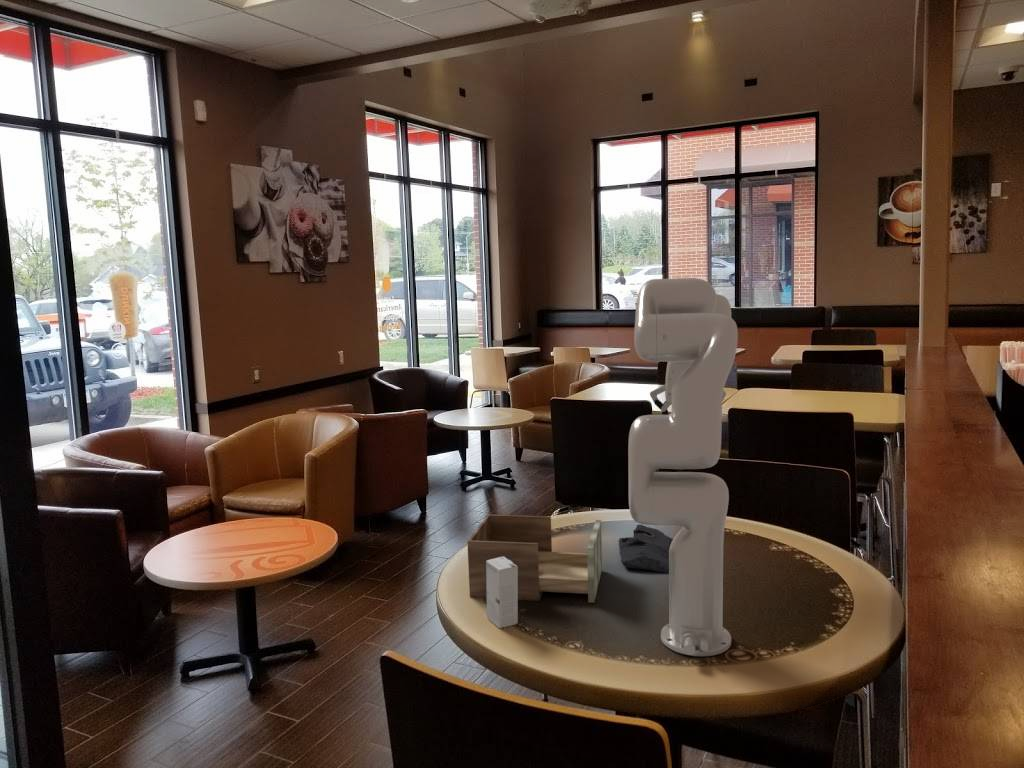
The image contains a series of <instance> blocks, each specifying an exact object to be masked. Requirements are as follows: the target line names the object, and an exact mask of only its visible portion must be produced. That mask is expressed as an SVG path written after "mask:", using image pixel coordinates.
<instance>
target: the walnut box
mask: <svg viewBox="0 0 1024 768" xmlns="http://www.w3.org/2000/svg"><path fill="white" fill-rule="evenodd" d="M552 539H553V538H552V516H543V515H542V516H540V515H518V514H517V515H514V514H513V515H509V514H490V513H489V514H486V515H485V517H484V518H483V520H482V521H481V522H480V524H479V525H478V526H477V528H476V529H475V531H474V532H473V533H472V534H471V536H470V537H469V538H468V540H467V542H466V544H467V561H468V562H467V563H468V565H467V566H468V583H469V585H468V586H469V587H468V588H469V597H470V598H481V599H482V598H483V599H487V585H486V561H487V560H490V559H494V558H499V557H503V556H504V557H505V558H507V559H508V560H510V561H512V562H513V563H514V564H515V565H516V566H517V567H518V601H531V602H532V601H534V602H540V599H541V598H542V595H543V592H544V591H539V562H538V551H547V552H553V542H552V541H553V540H552Z"/></svg>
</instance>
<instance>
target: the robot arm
mask: <svg viewBox="0 0 1024 768" xmlns="http://www.w3.org/2000/svg"><path fill="white" fill-rule="evenodd" d="M635 305H636V306H635V319H634V333H633V334H634V335H633V345H634V349H635V352H636V354H637V356H638V358H639V359H641V360H643V361H644V362H645V361H646V362H652V363H653V362H654V363H660V362H661V363H662V362H664V363H665V362H666V363H667V364H666V371H665V383H664V384H663V385H662V386H659V387H657V388H655V389H654V390H651V391H650V393H649V396H650V398H651V400H652V402H653V403H654V405H655V406H656V407H657V408H658V409H659V410H660V411H661V414H647V415H646V414H645V415H640V416H638V417H637V418H635V420H633V422H632V424H631V426H630V429H629V433H628V445H627V446H628V448H627V449H628V450H627V451H628V453H627V455H628V456H627V457H628V462H627V463H628V466H627V467H628V468H627V469H628V507H629V513H630V516H631V518H632V519H633V520H634V521H635V522H636V523H638V524H639V525H649V526H650V525H651V526H670V527H672V526H674V527H675V526H677V527H682V528H681V529H680V530H679V531H678V532H677V534H676V535H674V537H673V538H672V539H673V540H672V542H671V545H670V549H669V573H668V589H669V590H668V596H669V598H668V603H669V604H668V607H669V609H668V611H669V612H668V621H669V623H667V624H666V625H664V626H663V627H662V629H661V630H660V640H661V642H662V643H663V644H664V646H666V647H667V648H668V649H670V650H672V651H673V652H675V653H679V654H681V655H685V656H686V655H687V656H691V657H712V656H718V655H720V654H723V653H724V652H726V651H728V650H729V648H730V647H731V645H732V636H731V633H730V632H729V631H728V630H727V629H726V628H725V627H723V621H724V620H723V618H724V617H723V616H724V614H723V613H724V612H723V609H724V607H723V603H724V596H723V595H724V589H723V588H724V538H725V527H726V519H727V514H728V509H729V507H728V506H729V502H730V501H729V499H730V494H729V492H730V491H729V488H728V485H727V483H726V481H725V480H724V479H723V478H722V477H720V476H719V475H716V474H713V473H709V472H708V473H707V472H697V471H695V472H694V471H676V472H675V471H674V472H673V471H657V470H662V469H663V470H665V469H668V470H669V469H670V470H671V469H672V470H700V469H701V470H703V469H707V468H708V469H709V468H712V467H714V466H715V465H716V464H718V461H719V459H720V457H721V451H722V449H721V448H722V428H723V425H722V423H723V422H722V421H723V420H722V419H723V401H724V400H725V398H726V396H727V393H726V391H725V390H724V389H725V387H726V382H727V380H728V377H729V375H730V373H731V369H732V367H733V365H734V361H735V359H736V358H735V357H736V354H737V349H738V340H739V337H738V335H739V333H738V325H737V323H736V321H735V320H734V319H733V318H732V307H731V304H730V301H729V299H728V298H727V297H726V296H724V295H721V294H717V292H716V290H715V288H714V286H712V284H711V283H709V282H708V281H707V280H705V279H701V278H696V277H695V278H694V277H681V278H680V277H678V278H656V279H655V278H653V279H649V280H646V282H644V283H643V284H642V285H641V287H640V289H639V291H638V294H637V298H636V304H635ZM662 393H664V394H665V395H664V397H665V401H664V402H662V401H661V400H660V399H659V398H658V396H659V395H660V394H662ZM670 406H671V412H670V414H669V410H668V409H669V407H670Z"/></svg>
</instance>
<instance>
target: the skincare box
mask: <svg viewBox="0 0 1024 768" xmlns="http://www.w3.org/2000/svg"><path fill="white" fill-rule="evenodd" d="M486 585H487V598H486V617H487V619H488V620H489V621H490V622H491V623H492V624H493V625H494V626H495V627H497V628H499V629H503V627H504V628H507V626H508V627H510V626H511V627H512V626H514V625H517V624H518V623H519V612H518V611H519V610H518V608H519V607H518V606H519V605H518V601H519V600H518V567H517V566H516V565H515V564H514V563H513V562H512V561H510V560H508V559H507V558H505V557H504V556H503V557H499V558H494V559H490V560H487V561H486Z"/></svg>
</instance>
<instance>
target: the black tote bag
mask: <svg viewBox="0 0 1024 768" xmlns="http://www.w3.org/2000/svg"><path fill="white" fill-rule="evenodd" d="M673 539H674V538H671V537H670V536H668V535H666V534H665V533H664V532H662V531H661V530H659V529H658V528H657V529H656V528H653V527H649V526H646V525H644V524H637V525H636V527H635V529H633V536H629V537H619V539H618V548H619V555H620V562H621V564H622V565H623V567H625V568H628V569H639V570H647V571H650V572H651V571H652V572H659V573H663V572H665V573H666V574H669V549H670V545H671V542H672V540H673ZM665 573H664V574H665Z"/></svg>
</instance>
